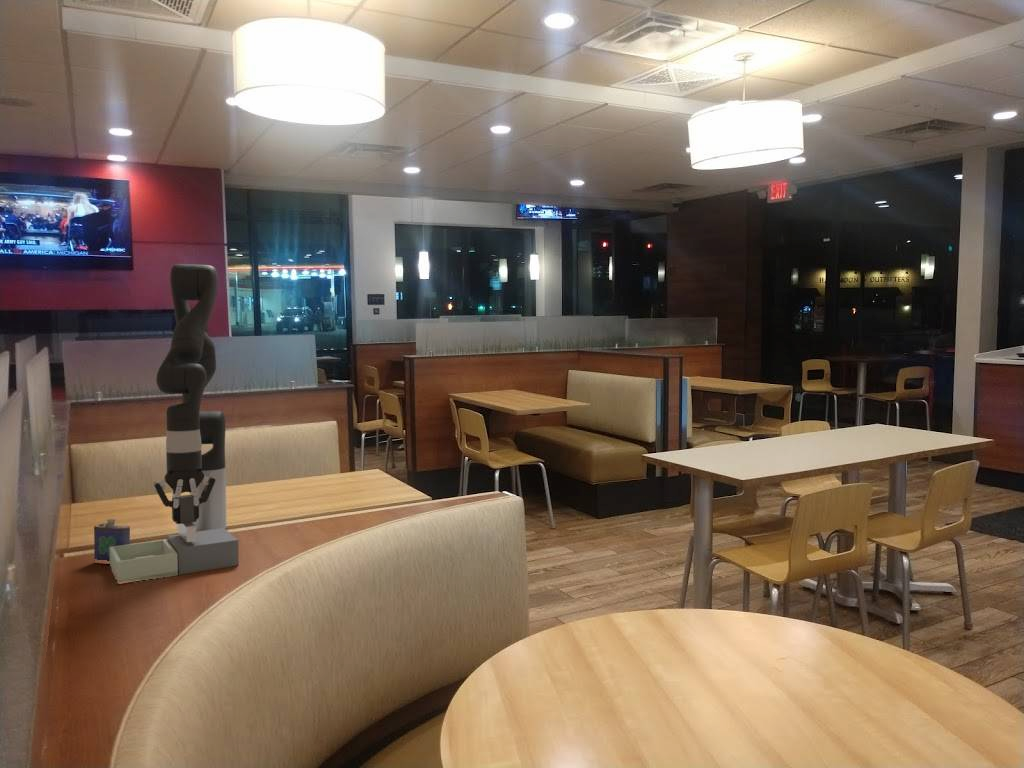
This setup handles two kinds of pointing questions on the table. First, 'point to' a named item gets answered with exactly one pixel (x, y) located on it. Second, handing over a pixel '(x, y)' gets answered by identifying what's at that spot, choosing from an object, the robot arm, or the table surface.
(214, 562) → the grey slotted block
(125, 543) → the flask
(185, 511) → the scraper
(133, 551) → the box
